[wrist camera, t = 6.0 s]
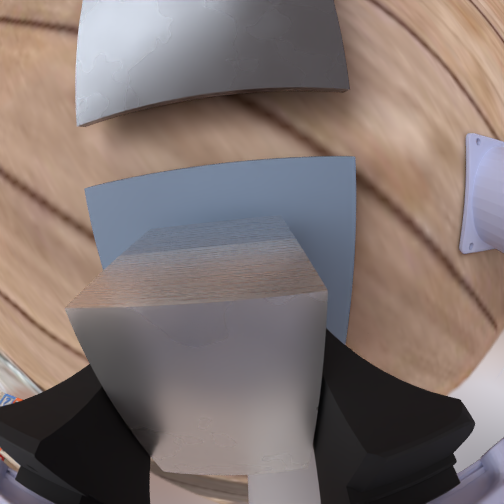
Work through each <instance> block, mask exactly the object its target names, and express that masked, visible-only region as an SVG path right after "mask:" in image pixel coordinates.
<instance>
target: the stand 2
mask: <svg viewBox="0 0 504 504" xmlns="http://www.w3.org/2000/svg"><path fill="white" fill-rule="evenodd" d="M85 195H86V200H87V205H88V210H89V215H90V220H91V224H92V229H93V233H94V237H95V241H96V245H97V249H98V253H99V256H100V260H101V263H102V267H103V270H104V269H105V268H106V267H108V266H109V265H110V264H111V263H112V262H113V261H114V260H115V259H116V258H117V257H119V256H120V255H121V254H122V253H123V252H124V251H125V250H127V249H128V248H129V247H130V246H131V245H132V244H133V243H135V242H136V241H137V240H138V239H139V238H140V237H142V236H143V235H144V234H145V233H146V232H148V231H149V230H150V229H156V228H163V227H172V226H180V225H188V224H197V223H206V222H215V221H225V220H235V219H245V218H255V217H266V216H278V215H281V216H282V218H283V220H284V221H285V223H286V224H287V226H288V227H289V229H290V230H291V232H292V233H293V235H294V237H295V238H296V240H297V241H298V243H299V244H300V246H301V248H302V249H303V251H304V252H305V254H306V256H307V257H308V259H309V260H310V262H311V264H312V265H313V267H314V268H315V270H316V272H317V273H318V275H319V277H320V278H321V280H322V282H323V283H324V285H325V287H326V288H327V290H328V302H327V321H326V328H327V329H328V330H329V331H330V332H331V333H332V334H333V335H334V336H335V337H337V338H338V339H339V340H340V341H341V342H342V343H343V344H345V343H346V336H347V329H348V321H349V313H350V304H351V294H352V283H353V270H354V255H355V233H356V164H355V157H353V156H314V157H290V158H274V159H260V160H248V161H238V162H228V163H219V164H211V165H203V166H196V167H189V168H182V169H176V170H169V171H163V172H158V173H152V174H147V175H141V176H136V177H131V178H126V179H122V180H117V181H112V182H108V183H103V184H99V185H95V186H91V187H88V188H85Z"/></svg>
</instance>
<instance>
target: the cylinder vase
mask: <svg viewBox="0 0 504 504" xmlns="http://www.w3.org/2000/svg"><path fill="white" fill-rule="evenodd" d="M248 494H249V504H321V501H320V491H319V483H318V476H317V469H316V462H315V455H314V449H313V445H312V451H311V457H310V462H309V467H308V468H307V469H300V470H293V471H285V472H276V473H266V474H250V475H248Z"/></svg>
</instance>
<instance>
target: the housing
mask: <svg viewBox="0 0 504 504" xmlns="http://www.w3.org/2000/svg"><path fill="white" fill-rule="evenodd" d="M327 302H328V290H327V288H326V287H325V285H324V283H323V282H322V280H321V278H320V277H319V275H318V273H317V272H316V270H315V268H314V267H313V265H312V264H311V262H310V260H309V259H308V257H307V256H306V254H305V252H304V251H303V249H302V248H301V246H300V244H299V243H298V241H297V240H296V238H295V237H294V235H293V233H292V232H291V230H290V229H289V227H288V226H287V224H286V223H285V221H284V220H283V218H282V216H281V215H278V216H266V217H255V218H245V219H235V220H225V221H215V222H206V223H197V224H188V225H180V226H172V227H163V228H156V229H150V230H149V231H148V232H146V233H145V234H144V235H143V236H142V237H140V238H139V239H138V240H137V241H136V242H135V243H133V244H132V245H131V246H130V247H129V248H128V249H127V250H125V251H124V252H123V253H122V254H121V255H120V256H119V257H117V258H116V259H115V260H114V261H113V262H112V263H111V264H110V265H109V266H108V267H106V268H105V269H104V270H103V271H102V272H101V273H100V274H99V275H98V276H97V277H96V278H95V279H94V280H92V281H91V282H90V283H89V284H88V285H87V286H86V287H85V288H84V289H83V290H82V291H81V292H80V293H79V294H78V295H77V296H76V297H75V298H74V299H73V300H72V301H71V302H70V303H69V304H68V305H67V306H66V307H65V310H66V313H67V315H68V318H69V320H70V322H71V325H72V327H73V329H74V332H75V334H76V336H77V338H78V340H79V343H80V345H81V347H82V349H83V351H84V353H85V355H86V357H87V359H88V361H89V363H90V365H91V367H92V369H93V371H94V372H95V374H96V376H97V378H98V380H99V381H100V383H101V385H102V387H103V388H104V390H105V392H106V393H107V395H108V397H109V398H110V400H111V402H112V403H113V405H114V406H115V408H116V409H117V411H118V412H119V414H120V415H121V417H122V418H123V420H124V421H125V423H126V424H127V426H128V427H129V429H130V430H131V431H132V433H133V434H134V435H135V437H136V438H137V440H138V441H139V442H140V443H141V445H142V446H143V447H144V449H145V450H146V451H147V452H148V454H149V455H150V456H151V457H152V459H153V460H154V461H155V462H156V463H157V465H158V466H159V467H160V468H161V469H162V470H163V471H164V472H173V473H184V474H199V475H250V474H266V473H276V472H285V471H293V470H300V469H307V468H308V467H309V462H310V457H311V451H312V445H313V439H314V433H315V427H316V420H317V413H318V406H319V398H320V389H321V381H322V371H323V361H324V349H325V336H326V321H327Z"/></svg>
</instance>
